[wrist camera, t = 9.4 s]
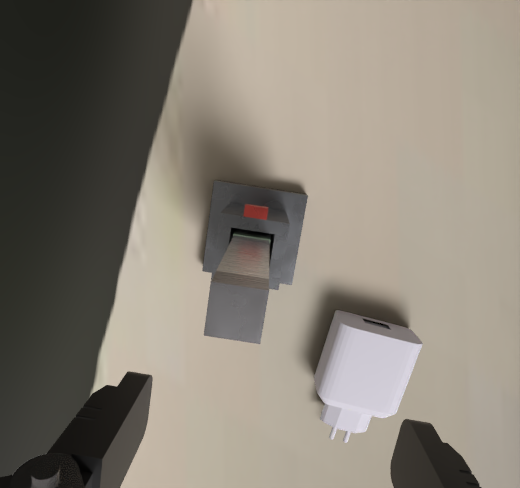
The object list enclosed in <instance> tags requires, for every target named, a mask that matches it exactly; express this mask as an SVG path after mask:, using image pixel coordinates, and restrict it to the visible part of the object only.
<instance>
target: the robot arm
mask: <svg viewBox="0 0 520 488" xmlns="http://www.w3.org/2000/svg"><path fill="white" fill-rule="evenodd" d="M151 388H152V375H147V374H141V373H135V372H127V373H126V375H125V376H124V378H123V379H122V381H121V382H120V384H119V385H118V386H117V387H116V386H110V385H106V386H104V387H103V388H101V389H100V390H98V391H96V392H95V393H93V394H92V395H91V397H90V398H89V399H88V400H87V402H86V403H85V404H84V407H83V408H81V410H80V411H79V412H78V413H77V415H76V417H75V418H74V419H73V420H72V421H71V423H70V424H69V425H68V427H67V428H66V429H65V430H64V432H63V433H62V434H61V436H60V437H59V438H58V440H57V441H56V442H55V444H54V445H53V446H52V447H51V449H50V450H49V451H48V453H47V454H43V455H40V456H36V457H34V458H32V459H30V460H28V461H26V462H25V463H23V464H22V465H21V466H20V467H19V468H18V469H17V470H16V471H15V472H14V473H13V475H10V476H5V477H0V488H120V486H121V484H122V482H123V480H124V477H125V475H126V473H127V471H128V469H129V467H130V465H131V462H132V460H133V458H134V456H135V454H136V452H137V450H138V448H139V445H140V443H141V441H142V439H143V436H144V433H145V430H146V426H147V421H148V414H149V406H150V397H151ZM391 479H392V483H393V486H394V488H481V487H479V483H478V481H477V480H476V478H475V476H474V475H472V472H471V470H470V468H469V467H468V465H467V464H466V462H465V461H464V459H463V457H462V456H461V455H460V454H459V453H457V452H456V451H455V450H454V449H453V448H452V447H451V446H450V445H449V444H448V443H443V442H442V441H441V439H440V437H439V435H438V434H437V432H436V430H435V429H434V427H433V426H432V424H430V423H427V422H421V421H415V420H409V419H405V420H404V421H403V422H402V425H401V428H400V432H399V435H398V439H397V442H396V446H395V449H394V453H393V456H392V460H391Z"/></svg>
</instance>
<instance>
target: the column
mask: <svg viewBox="0 0 520 488" xmlns="http://www.w3.org/2000/svg"><path fill="white" fill-rule="evenodd" d="M269 245H270V233H264V232H257V231H251V230H245V229H238V228H237V230H236V232H234V234H233V238H232V240H231V242H230V244H229V246H228V248H227V250H226V252H225V254H224V256H223V258H222V260H221V262H220V264H219V266H218V268H217V270H216V272H215V274H214V276H213V278H212V280H211V285H210V292H209V300H208V307H207V315H206V322H205V330H204V336H211V337H217V338H224V339H230V340H237V341H243V342H250V343H256V344H260V341H261V335H262V329H263V323H264V317H265V311H266V305H267V299H268V293H269Z"/></svg>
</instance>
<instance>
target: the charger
mask: <svg viewBox="0 0 520 488" xmlns="http://www.w3.org/2000/svg"><path fill="white" fill-rule="evenodd" d="M362 318H363V319H366V320H370V321H374V322H378V323H382V324H386V325H388V326H389V327H386V326H383V325H379V324H375V323H371V322H367V321H363V319H362ZM422 344H423V343H422V342H421V341H420V339H419V338H418V337H417V336H416V335H415V333H414V332H413V331H412V330H410V329H408V328H406V327H403V326H399V325H395V324H391V323H387V322H384V321H380V320H376V319H372V318H368V317H364V316H360V315H356V314H353V313H349V312H345V311H341V310H336V311H335V314H334V317H333V320H332V323H331V326H330V329H329V332H328V335H327V339H326V342H325V345H324V348H323V351H322V354H321V357H320V360H319V363H318V367H317V370H316V373H315V376H314V380H315V385H316V390H317V393H318V395H319V396H320V398H321V399H322V401H323V402H324V403H325V405H324V408H323V411H322V414H321V417H320V419H321V420H322V421H323V422H325V423H326V424H328V425H330V426H332V427H333V428H332V431H331V433H330V436H329V438H330V439H334V436H335V433H336V430H337V429H340V430H344V431H346V434H345V437H344V439H343V441H344V442H345V443H347V442H348V439H349V436H350V433H351V432H352V433H361V432H365V431H366V430H367V428H368V425H369V422H370V419H371V417H372V416H375V417H379V418H386V417H389V416H391V415H394V414H396V412H397V410H398V407H399V405H400V402H401V399H402V397H403V394H404V391H405V389H406V386H407V383H408V381H409V378H410V376H411V373H412V370H413V368H414V365H415V362H416V360H417V357H418V354H419V352H420V349H421V347H422Z"/></svg>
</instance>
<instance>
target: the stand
mask: <svg viewBox="0 0 520 488" xmlns="http://www.w3.org/2000/svg"><path fill="white" fill-rule="evenodd" d="M307 197H308V195H307V194H301V193H295V192H289V191H282V190H276V189H269V188H263V187H257V186H250V185H244V184H238V183H231V182H225V181H219V180H215V181H214V185H213V193H212V200H211V208H210V216H209V224H208V232H207V239H206V247H205V255H204V263H203V271H205V272H211V273H212V278H213V276H214V274H215V272H216V270H217V268H218V266H219V264H220V262H221V260H222V258H223V256H224V254H225V252H226V250H227V248H228V246H229V244H230V242H231V240H232V238H233V234H234V232H236V230H237V228H238V229H245V230H251V231H257V232H264V233H270V245H269V289H275V290H278V289H279V283H282V284H288V285H292V281H293V275H294V270H295V264H296V259H297V253H298V247H299V242H300V236H301V231H302V225H303V219H304V214H305V208H306V203H307ZM212 278H211V280H212Z"/></svg>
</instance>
